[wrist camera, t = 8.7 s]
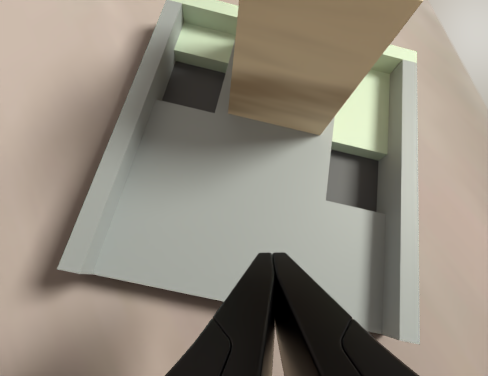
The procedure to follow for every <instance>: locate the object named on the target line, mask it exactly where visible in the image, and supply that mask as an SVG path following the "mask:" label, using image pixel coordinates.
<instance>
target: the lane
mask: <svg viewBox="0 0 488 376" xmlns="http://www.w3.org/2000/svg"><path fill="white" fill-rule="evenodd" d="M238 7H239V6H237V5H233V4H229V3H225V2H221V1H217V0H166V2H165V5H164V7H163V10H162V12H161V15H160V17H159V19H158V22H157V24H156V27H155V29H154V32H153V34H152V37H151V39H150V42H149V44H148V46H147V49H146V51H145V54H144V56H143V59H142V61H141V64H140V66H139V69H138V71H137V74H136V76H135V78H134V81H133V83H132V86H131V88H130V91H129V93H128V96H127V98H126V101H125V103H124V105H123V108H122V110H121V113H120V115H119V118H118V120H117V123H116V125H115V128H114V130H113V132H112V135H111V137H110V140H109V142H108V145H107V147H106V150H105V152H104V155H103V157H102V160H101V162H100V164H99V167H98V169H97V172H96V174H95V177H94V179H93V182H92V184H91V187H90V189H89V191H88V194H87V196H86V199H85V201H84V204H83V206H82V209H81V211H80V214H79V216H78V219H77V221H76V223H75V226H74V228H73V231H72V233H71V236H70V238H69V241H68V243H67V246H66V248H65V250H64V253H63V255H62V258H61V260H60V263H59V265H58V268H57V269H58V270H63V271H68V272H73V273H77V274H93V275H98V276H103V277H108V278H113V279H118V280H122V281H127V282H132V283H137V284H142V285H146V286H151V287H156V288H161V289H166V290H170V291H175V292H180V293H185V294H190V295H195V296H199V297H204V298H209V299H214V300H219V301H223V302H224V301H225V300H226V298H227V297H228V295H229V294H230V292H231V291H232V290H233V288H234V287H235V285H236V284H237V283H238V281H239V280H240V278H241V277H242V276H243V274H244V273H245V271H246V270H247V269H248V267H249V266H250V264H251V263H252V262H253V260H254V259H255V257H256V256H257V254H258V253H267V252H270V253H271V254H273V253H274V252H285V253H287V254H288V255H289V256H290V257H291V258H292V259H293V260H294V261H295V262H296V263H297V264H298V265H299V266H300V267H301V268H302V269H303V270H304V271H305V272H306V273H307V274H308V275H309V276H310V277H311V278H312V279H313V280H314V281H315V282H316V283H317V284H319V285H320V286H321V287H322V288H323V289H324V290H325V291H326V292H327V293H328V294H329V295H330V296H331V297H332V298H333V299H334V300H335V301H336V302H337V303H338V304H339V305H340V306H341V307H342V308H343V309H344V310H345V311H346V312H347V313H348V314H349V315H350V316H352V318H353V319H355V320H356V321H357V322H358V323H359V324H360V325H361V326H362V327H363V328H364V329H365V330H366V331H368V332H373V333H377V334H382V335H385V336H388V337H391V338H394V339H397V340H400V341H405V342H410V343H415V344H420V321H419V220H418V118H417V51H413V50H409V49H405V48H401V47H397V46H393V45H389V46H388V47H387V49H386V50H385V51H384V53H383V54H382V55H381V57H380V58H379V59H378V60H377V62H376V63H375V64H374V66H373V67H372V68H371V70H370V71H369V72H368V74H367V75H366V76H365V77H364V79H363V80H362V81H361V83H360V84H359V85H358V87H357V88H356V89H355V91H354V92H353V93H352V94H351V96H350V97H349V98H348V100H347V101H346V102H345V104H344V105H343V106H342V107H341V109H340V110H339V111H338V113H337V114H336V115H335V117H334V118H333V119H332V121H331V122H330V123H329V124H328V126H327V127H326V128H325V130H324V131H323V132H322V134H321V135H316V134H312V133H308V132H303V131H299V130H295V129H291V128H287V127H282V126H278V125H274V124H270V123H266V122H261V121H257V120H253V119H249V118H245V117H240V116H236V115H232V114H228V107H229V97H230V87H231V77H232V67H233V57H234V47H235V37H236V27H237V17H238Z"/></svg>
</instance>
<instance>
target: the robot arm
mask: <svg viewBox="0 0 488 376" xmlns="http://www.w3.org/2000/svg"><path fill="white" fill-rule="evenodd" d="M275 328H276V334H277V340H278V345H279V350H280V356H281V361H282V366H283V371H284V376H419V375H418V374H416V373H415V372H414V371H413V370H411V369H410V368H409V367H408V366H407V365H405V364H404V363H403V362H402V361H400V360H399V359H398V358H397V357H396V356H394V355H393V354H392V353H391V352H390V351H389V350H387V349H386V348H385V347H384V346H383V345H381V344H380V343H379V342H378V341H377V340H376V339H375V338H374V337H373V336H372V335H371V334H369V333H368V332H367V331H366V330H365V329H364V328H363V327H362V326H361V325H360V324H359V323H358V322H357V321H356V320H355V319H353V318H352V316H350V315H349V314H348V313H347V312H346V311H345V310H344V309H343V308H342V307H341V306H340V305H339V304H338V303H337V302H336V301H335V300H334V299H333V298H332V297H331V296H330V295H329V294H328V293H327V292H326V291H325V290H324V289H323V288H322V287H321V286H320V285H319V284H317V283H316V282H315V281H314V280H313V279H312V278H311V277H310V276H309V275H308V274H307V273H306V272H305V271H304V270H303V269H302V268H301V267H300V266H299V265H298V264H297V263H296V262H295V261H294V260H293V259H292V258H291V257H290V256H289V255H288V254H287V253H285V252H274V253H273V254H271V253H270V252H267V253H258V254H257V256H256V257H255V259H254V260H253V262H252V263H251V264H250V266H249V267H248V269H247V270H246V271H245V273H244V274H243V276H242V277H241V278H240V280H239V281H238V283H237V284H236V285H235V287H234V288H233V290H232V291H231V292H230V294H229V295H228V297H227V298H226V300H225V301H224V302H223V304H222V305H221V307H220V308H219V309H218V311H217V312H216V314H215V315H214V316H213V319H211V320H210V322H209V323H208V325H207V326H206V328H205V329H204V330H203V332H202V333H201V334H200V336H199V337H198V338H197V339H196V341H195V342H194V343H193V345H192V346H191V347H190V348H189V349H188V350H187V351H186V353H185V354H184V355H183V356H182V357H181V358H180V360H179V361H178V362H177V363H176V364H175V365H174V366H173V367H172V368H171V370H170V371H169V372H168V373H167V374H166V375H165V376H272V367H273V351H274V334H275Z"/></svg>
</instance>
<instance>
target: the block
mask: <svg viewBox="0 0 488 376" xmlns="http://www.w3.org/2000/svg"><path fill="white" fill-rule="evenodd" d="M422 2H423V0H239V7H238V17H237V27H236V37H235V47H234V57H233V67H232V77H231V87H230V97H229V107H228V114H232V115H236V116H240V117H245V118H249V119H253V120H257V121H261V122H266V123H270V124H274V125H278V126H282V127H287V128H291V129H295V130H299V131H303V132H308V133H312V134H316V135H321V134H322V132H323V131H324V130H325V128H326V127H327V126H328V124H329V123H330V122H331V121H332V119H333V118H334V117H335V115H336V114H337V113H338V111H339V110H340V109H341V107H342V106H343V105H344V104H345V102H346V101H347V100H348V98H349V97H350V96H351V94H352V93H353V92H354V91H355V89H356V88H357V87H358V85H359V84H360V83H361V81H362V80H363V79H364V77H365V76H366V75H367V74H368V72H369V71H370V70H371V68H372V67H373V66H374V64H375V63H376V62H377V60H378V59H379V58H380V57H381V55H382V54H383V53H384V51H385V50H386V49H387V47H388V46H389V45H390V43H391V42H392V41H393V40H394V38H395V37H396V36H397V34H398V33H399V32H400V30H401V29H402V28H403V26H404V25H405V24H406V23H407V21H408V20H409V19H410V17H411V16H412V15H413V13H414V12H415V11H416V9H417V8H418V7H419V6H420V4H421V3H422Z"/></svg>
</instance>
